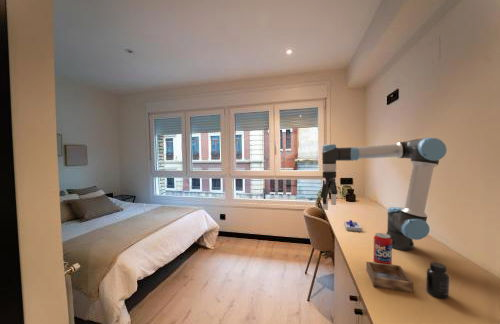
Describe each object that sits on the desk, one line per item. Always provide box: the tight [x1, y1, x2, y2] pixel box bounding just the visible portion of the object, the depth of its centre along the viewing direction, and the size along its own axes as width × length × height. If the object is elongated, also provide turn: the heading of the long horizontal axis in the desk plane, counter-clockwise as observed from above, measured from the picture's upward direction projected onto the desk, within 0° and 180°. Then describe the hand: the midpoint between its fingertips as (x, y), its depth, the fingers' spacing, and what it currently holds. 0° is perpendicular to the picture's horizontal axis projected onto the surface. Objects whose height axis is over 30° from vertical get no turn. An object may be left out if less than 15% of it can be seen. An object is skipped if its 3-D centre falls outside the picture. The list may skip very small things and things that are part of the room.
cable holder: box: [348, 219, 355, 227], centre depth 161 cm, size 8×4×4 cm, turn 157°
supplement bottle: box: [425, 261, 450, 300], centre depth 85 cm, size 7×7×12 cm
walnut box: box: [365, 261, 414, 294], centre depth 95 cm, size 14×14×4 cm
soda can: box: [373, 232, 393, 265], centre depth 108 cm, size 8×8×15 cm
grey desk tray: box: [343, 220, 363, 233], centre depth 161 cm, size 10×14×3 cm
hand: (329, 207), depth 126 cm, fingers open, 13 cm apart
